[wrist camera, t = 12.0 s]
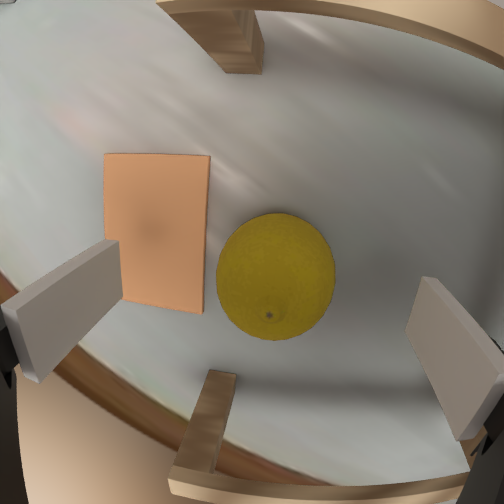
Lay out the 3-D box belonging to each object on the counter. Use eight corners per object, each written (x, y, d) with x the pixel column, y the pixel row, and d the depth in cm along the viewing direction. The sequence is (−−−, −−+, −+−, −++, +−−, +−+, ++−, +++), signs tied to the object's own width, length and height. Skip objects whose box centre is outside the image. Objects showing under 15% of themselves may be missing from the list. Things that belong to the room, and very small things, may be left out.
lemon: (230, 203, 18) (185, 243, 11) (326, 200, 18) (350, 238, 10) (237, 291, 20) (205, 371, 12) (326, 289, 19) (341, 373, 12)
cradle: (541, 119, 13) (640, 125, 4) (460, 402, 21) (497, 486, 12) (229, 42, 15) (166, -46, 6) (209, 388, 23) (171, 493, 14)
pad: (210, 156, 18) (208, 156, 17) (203, 311, 21) (201, 314, 20) (107, 153, 18) (104, 153, 18) (112, 294, 21) (109, 297, 21)
